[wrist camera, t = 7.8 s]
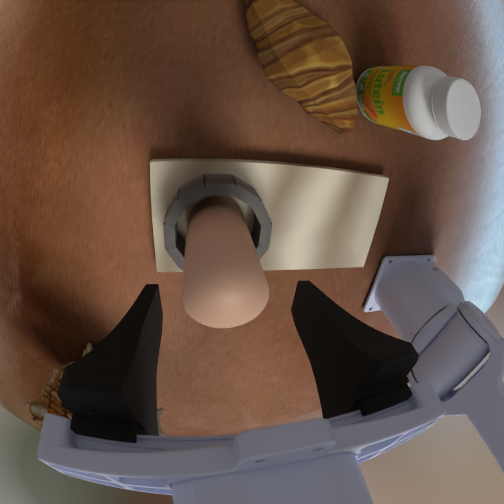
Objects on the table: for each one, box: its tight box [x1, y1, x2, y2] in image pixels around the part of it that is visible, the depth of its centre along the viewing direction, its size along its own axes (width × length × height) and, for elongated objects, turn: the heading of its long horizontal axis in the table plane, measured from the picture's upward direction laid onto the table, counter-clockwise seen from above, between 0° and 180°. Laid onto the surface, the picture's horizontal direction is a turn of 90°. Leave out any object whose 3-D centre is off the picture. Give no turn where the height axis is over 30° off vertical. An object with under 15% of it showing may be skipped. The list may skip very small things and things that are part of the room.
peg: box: [182, 196, 269, 328], centre depth 17 cm, size 4×4×9 cm
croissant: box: [244, 0, 358, 133], centre depth 14 cm, size 14×7×5 cm, turn 35°
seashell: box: [25, 343, 164, 482], centre depth 23 cm, size 18×18×15 cm
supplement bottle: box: [356, 65, 481, 140], centre depth 14 cm, size 5×5×10 cm
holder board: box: [150, 158, 389, 272], centre depth 21 cm, size 20×10×4 cm, turn 85°
